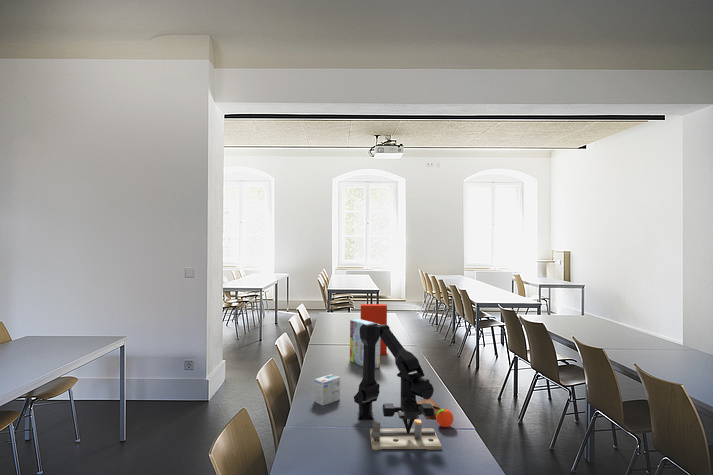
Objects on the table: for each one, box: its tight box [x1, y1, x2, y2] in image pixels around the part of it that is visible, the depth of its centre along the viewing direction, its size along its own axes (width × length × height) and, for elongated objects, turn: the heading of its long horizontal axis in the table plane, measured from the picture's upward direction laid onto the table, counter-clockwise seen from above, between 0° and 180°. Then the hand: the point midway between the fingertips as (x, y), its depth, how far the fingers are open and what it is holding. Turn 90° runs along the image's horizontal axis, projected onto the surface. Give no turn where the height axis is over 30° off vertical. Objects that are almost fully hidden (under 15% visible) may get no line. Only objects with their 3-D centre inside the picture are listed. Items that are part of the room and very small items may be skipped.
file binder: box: [360, 303, 388, 356], centre depth 273 cm, size 8×17×32 cm, turn 88°
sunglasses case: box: [416, 397, 442, 420], centre depth 181 cm, size 18×7×7 cm
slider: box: [413, 419, 423, 440], centre depth 153 cm, size 4×3×6 cm, turn 2°
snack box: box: [349, 318, 381, 370], centre depth 248 cm, size 22×9×26 cm, turn 34°
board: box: [369, 419, 443, 451], centre depth 154 cm, size 14×25×7 cm, turn 92°
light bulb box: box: [313, 373, 341, 406], centre depth 191 cm, size 11×7×11 cm, turn 135°
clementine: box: [435, 408, 454, 428], centre depth 165 cm, size 8×7×7 cm
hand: (408, 432), depth 153 cm, fingers closed
